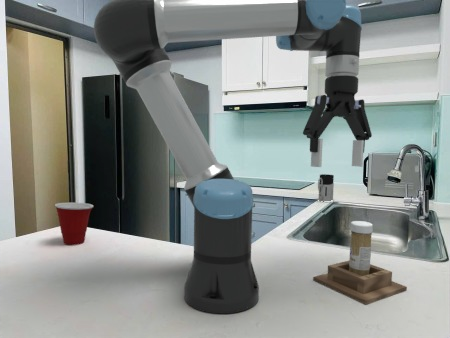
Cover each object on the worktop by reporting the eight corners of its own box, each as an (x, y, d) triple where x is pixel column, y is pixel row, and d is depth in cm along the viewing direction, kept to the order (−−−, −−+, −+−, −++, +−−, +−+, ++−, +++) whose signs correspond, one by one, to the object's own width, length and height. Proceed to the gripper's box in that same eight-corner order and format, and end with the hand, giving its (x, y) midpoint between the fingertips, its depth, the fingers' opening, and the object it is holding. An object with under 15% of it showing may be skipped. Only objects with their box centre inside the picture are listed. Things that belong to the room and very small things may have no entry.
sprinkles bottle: (344, 277, 80) (347, 220, 79) (363, 277, 80) (366, 220, 79) (353, 285, 75) (356, 225, 74) (373, 285, 76) (377, 225, 75)
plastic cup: (97, 244, 105) (97, 205, 104) (58, 249, 99) (58, 208, 98) (89, 236, 114) (88, 199, 113) (52, 240, 108) (52, 202, 107)
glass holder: (336, 201, 196) (337, 175, 194) (325, 204, 185) (326, 176, 184) (321, 199, 201) (322, 174, 200) (310, 202, 191) (311, 175, 190)
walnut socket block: (365, 304, 68) (366, 284, 68) (313, 280, 80) (313, 263, 80) (406, 290, 76) (407, 272, 75) (353, 269, 88) (353, 254, 87)
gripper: (312, 67, 73) (308, 168, 74) (390, 80, 85) (385, 167, 86) (289, 73, 80) (286, 165, 81) (364, 84, 91) (360, 165, 93)
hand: (337, 166), depth 84 cm, fingers open, 13 cm apart
